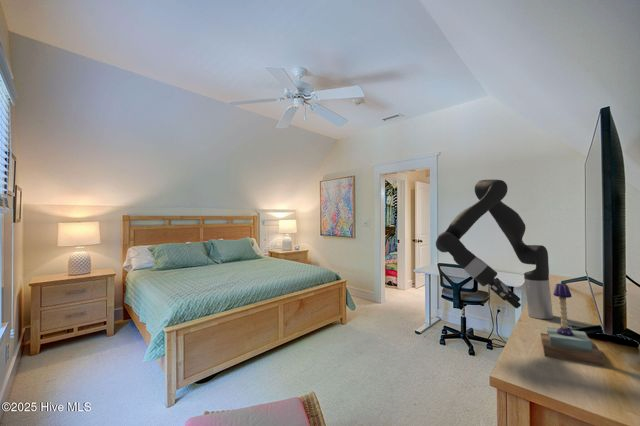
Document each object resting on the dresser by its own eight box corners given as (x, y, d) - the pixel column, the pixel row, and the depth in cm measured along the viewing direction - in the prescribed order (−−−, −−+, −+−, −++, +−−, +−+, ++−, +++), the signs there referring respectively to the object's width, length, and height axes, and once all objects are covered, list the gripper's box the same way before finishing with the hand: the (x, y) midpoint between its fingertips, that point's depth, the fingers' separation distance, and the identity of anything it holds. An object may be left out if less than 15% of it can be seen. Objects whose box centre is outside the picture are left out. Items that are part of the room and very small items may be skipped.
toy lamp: (568, 331, 96) (563, 282, 97) (580, 336, 91) (573, 285, 92) (553, 331, 96) (548, 283, 97) (564, 336, 92) (558, 285, 93)
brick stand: (541, 341, 103) (539, 324, 103) (593, 348, 95) (591, 330, 95) (545, 356, 91) (543, 337, 92) (604, 366, 83) (601, 345, 84)
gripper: (485, 267, 101) (528, 301, 94) (488, 262, 113) (526, 292, 106) (470, 281, 104) (510, 315, 97) (475, 274, 116) (511, 305, 109)
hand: (518, 303), depth 101 cm, fingers open, 8 cm apart
